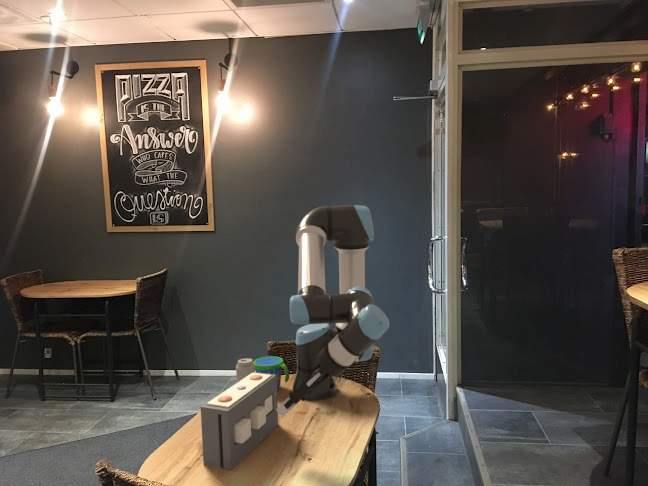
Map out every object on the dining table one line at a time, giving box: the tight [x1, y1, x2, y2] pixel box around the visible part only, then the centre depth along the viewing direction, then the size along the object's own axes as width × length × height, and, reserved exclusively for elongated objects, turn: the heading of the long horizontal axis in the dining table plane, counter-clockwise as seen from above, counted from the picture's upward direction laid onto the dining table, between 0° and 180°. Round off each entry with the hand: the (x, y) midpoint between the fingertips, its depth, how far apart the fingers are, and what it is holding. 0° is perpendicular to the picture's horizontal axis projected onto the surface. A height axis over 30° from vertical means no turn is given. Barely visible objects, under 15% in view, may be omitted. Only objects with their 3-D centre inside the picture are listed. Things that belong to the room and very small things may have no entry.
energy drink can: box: [235, 357, 255, 383], centre depth 158 cm, size 6×6×15 cm
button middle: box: [250, 406, 266, 429], centre depth 131 cm, size 3×4×4 cm, turn 158°
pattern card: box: [206, 373, 272, 408], centre depth 132 cm, size 6×23×1 cm, turn 158°
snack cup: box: [253, 355, 290, 390], centre depth 171 cm, size 16×10×10 cm
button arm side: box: [264, 395, 273, 415], centre depth 139 cm, size 3×4×4 cm, turn 158°
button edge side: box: [234, 418, 251, 444], centre depth 123 cm, size 3×4×4 cm, turn 158°
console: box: [200, 372, 279, 471], centre depth 133 cm, size 8×26×15 cm, turn 158°
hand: (280, 412), depth 127 cm, fingers closed
